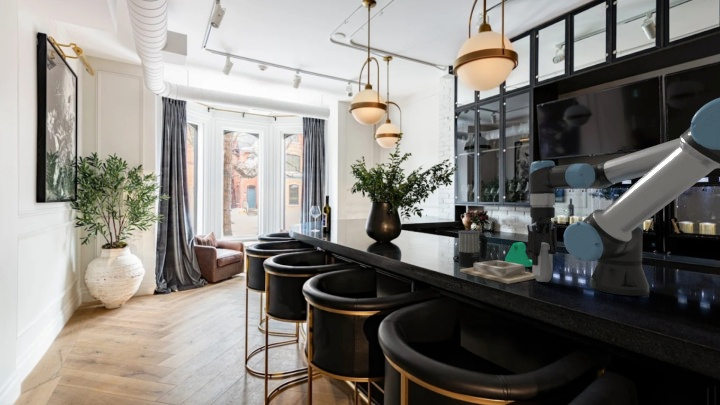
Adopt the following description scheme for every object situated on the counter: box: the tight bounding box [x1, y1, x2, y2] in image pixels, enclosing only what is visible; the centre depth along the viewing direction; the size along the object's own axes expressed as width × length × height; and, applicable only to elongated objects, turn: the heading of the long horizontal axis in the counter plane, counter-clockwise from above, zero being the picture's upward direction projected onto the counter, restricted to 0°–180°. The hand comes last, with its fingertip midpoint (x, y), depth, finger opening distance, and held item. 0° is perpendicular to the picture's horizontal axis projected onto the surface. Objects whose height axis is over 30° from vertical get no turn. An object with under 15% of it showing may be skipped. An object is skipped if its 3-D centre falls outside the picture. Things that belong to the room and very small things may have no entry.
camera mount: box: [504, 241, 532, 268], centre depth 151 cm, size 12×8×10 cm, turn 23°
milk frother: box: [452, 230, 488, 268], centre depth 156 cm, size 14×16×15 cm
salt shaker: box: [534, 242, 553, 283], centre depth 121 cm, size 6×6×13 cm
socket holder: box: [459, 259, 536, 285], centre depth 134 cm, size 22×18×4 cm
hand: (542, 273), depth 121 cm, fingers closed on salt shaker, 6 cm apart
